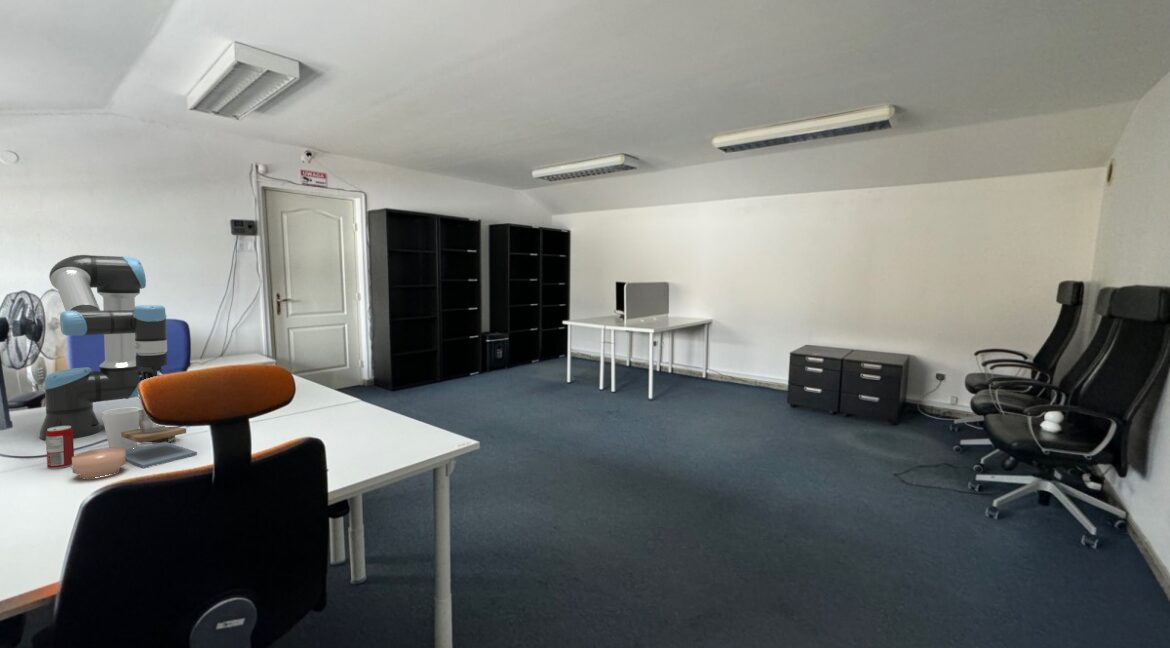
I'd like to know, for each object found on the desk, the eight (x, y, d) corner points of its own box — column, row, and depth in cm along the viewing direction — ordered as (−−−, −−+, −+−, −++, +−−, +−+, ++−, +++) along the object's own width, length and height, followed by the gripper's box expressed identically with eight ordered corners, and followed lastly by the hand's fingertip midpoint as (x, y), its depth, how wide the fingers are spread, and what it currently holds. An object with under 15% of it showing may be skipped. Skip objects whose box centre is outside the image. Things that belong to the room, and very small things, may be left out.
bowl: (65, 476, 139) (64, 455, 139) (115, 464, 149) (115, 445, 149) (82, 484, 134) (81, 463, 134) (133, 471, 144) (132, 451, 144)
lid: (121, 436, 154) (120, 410, 153) (167, 427, 165) (166, 403, 164) (140, 443, 149) (139, 415, 148) (186, 433, 159) (185, 407, 159)
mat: (112, 456, 155) (112, 453, 155) (165, 444, 168) (165, 441, 168) (143, 468, 147) (143, 465, 147) (196, 454, 159) (196, 451, 159)
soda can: (73, 461, 150) (71, 423, 149) (75, 466, 147) (73, 427, 146) (46, 466, 146) (44, 427, 145) (48, 470, 143) (46, 430, 142)
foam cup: (98, 455, 156) (96, 415, 155) (110, 446, 164) (108, 408, 163) (137, 451, 161) (135, 412, 160) (146, 443, 169) (145, 406, 168)
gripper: (123, 352, 155) (126, 424, 157) (150, 357, 148) (153, 432, 149) (152, 350, 162) (155, 419, 164) (179, 354, 154) (181, 426, 156)
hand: (154, 425), depth 156 cm, fingers closed on lid, 4 cm apart
